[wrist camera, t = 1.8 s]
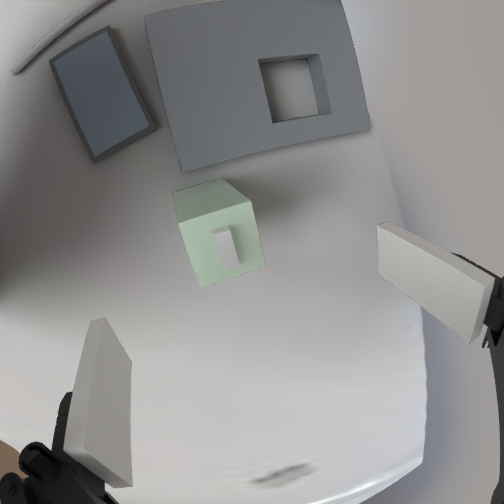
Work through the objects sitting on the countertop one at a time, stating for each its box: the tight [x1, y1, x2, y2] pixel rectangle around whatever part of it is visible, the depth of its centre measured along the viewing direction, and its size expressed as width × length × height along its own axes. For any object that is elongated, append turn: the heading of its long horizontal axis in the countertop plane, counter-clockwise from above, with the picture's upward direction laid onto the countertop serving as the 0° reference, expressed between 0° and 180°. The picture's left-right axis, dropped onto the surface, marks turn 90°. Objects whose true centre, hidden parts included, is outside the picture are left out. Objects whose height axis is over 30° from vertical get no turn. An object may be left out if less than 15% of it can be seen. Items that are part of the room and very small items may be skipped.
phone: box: [49, 25, 156, 164], centre depth 20 cm, size 6×11×1 cm, turn 23°
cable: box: [11, 0, 108, 75], centre depth 16 cm, size 13×1×1 cm, turn 123°
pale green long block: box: [173, 178, 266, 288], centre depth 22 cm, size 4×4×10 cm
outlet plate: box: [144, 0, 370, 173], centre depth 22 cm, size 18×14×2 cm
